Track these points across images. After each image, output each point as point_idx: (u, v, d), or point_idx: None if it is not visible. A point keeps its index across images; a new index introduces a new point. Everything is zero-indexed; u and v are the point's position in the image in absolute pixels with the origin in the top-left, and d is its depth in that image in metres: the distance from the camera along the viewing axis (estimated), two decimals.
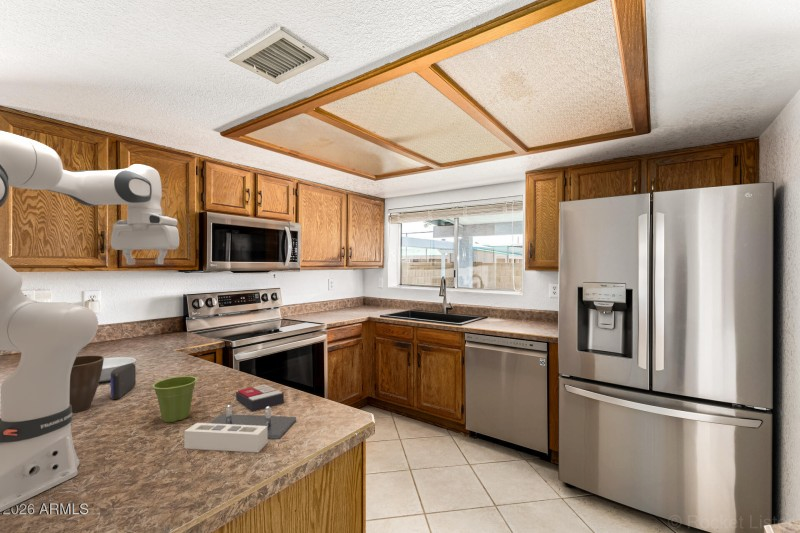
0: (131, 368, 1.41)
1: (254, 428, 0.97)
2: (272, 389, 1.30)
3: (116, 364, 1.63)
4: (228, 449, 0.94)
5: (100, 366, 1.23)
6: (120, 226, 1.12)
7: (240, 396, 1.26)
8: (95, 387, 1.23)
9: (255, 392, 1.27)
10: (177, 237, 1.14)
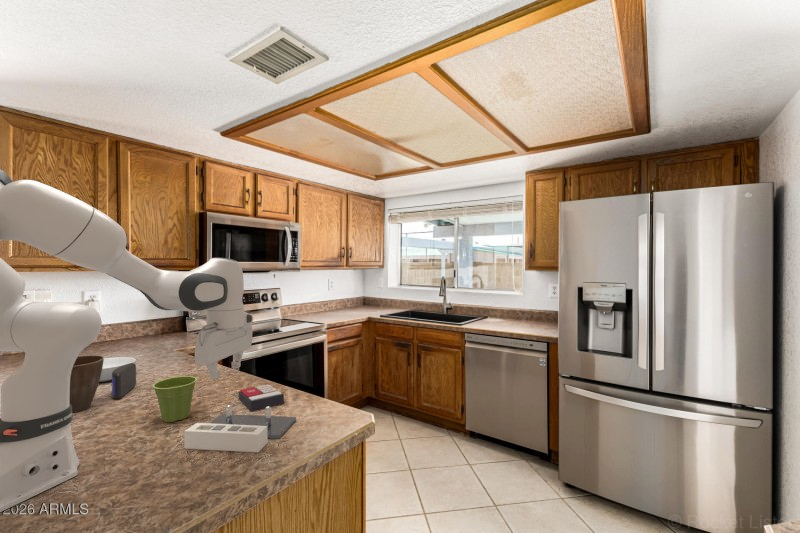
0: (132, 368, 1.41)
1: (254, 428, 0.97)
2: (273, 389, 1.29)
3: (116, 364, 1.63)
4: (228, 449, 0.94)
5: (100, 366, 1.23)
6: (216, 333, 0.89)
7: (241, 396, 1.27)
8: (95, 387, 1.23)
9: (256, 392, 1.27)
10: None
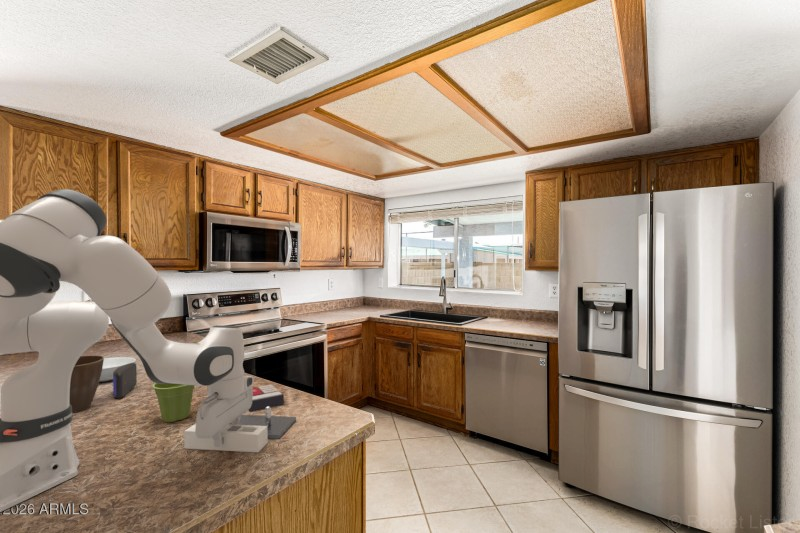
0: (133, 367, 1.41)
1: (254, 428, 0.97)
2: (274, 390, 1.29)
3: (116, 364, 1.63)
4: (228, 449, 0.94)
5: (100, 366, 1.23)
6: (217, 404, 0.90)
7: None
8: (95, 387, 1.23)
9: (257, 392, 1.27)
10: None
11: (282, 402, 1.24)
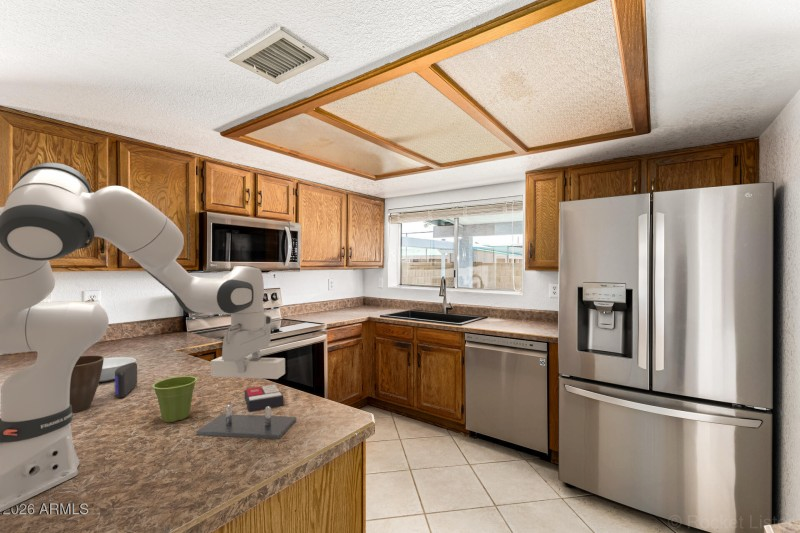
0: (134, 367, 1.42)
1: (273, 359, 1.07)
2: (275, 390, 1.28)
3: (116, 364, 1.63)
4: (250, 376, 1.04)
5: (100, 366, 1.23)
6: (240, 333, 1.00)
7: (245, 395, 1.28)
8: (95, 387, 1.23)
9: (258, 392, 1.27)
10: None
11: (281, 403, 1.23)
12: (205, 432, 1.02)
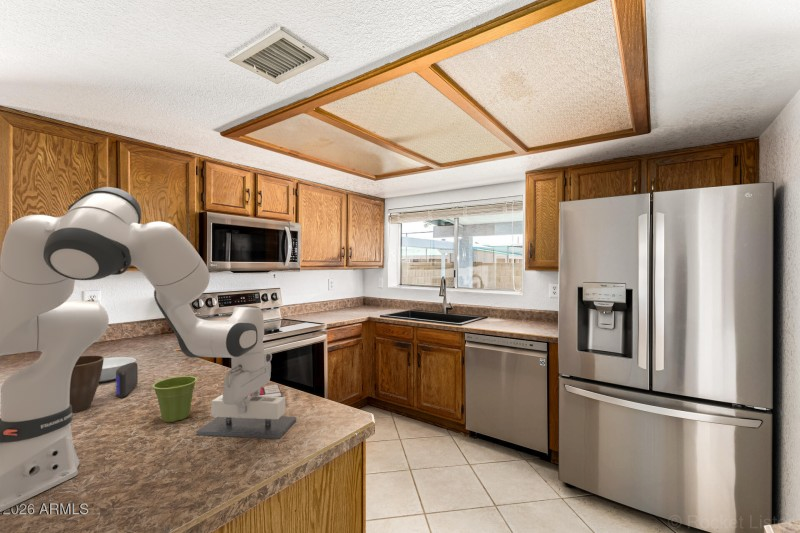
0: (134, 367, 1.42)
1: (273, 399, 1.07)
2: (276, 391, 1.28)
3: (116, 364, 1.63)
4: (251, 417, 1.04)
5: (100, 366, 1.23)
6: (241, 375, 1.00)
7: None
8: (95, 387, 1.23)
9: None
10: None
11: None
12: (205, 432, 1.02)
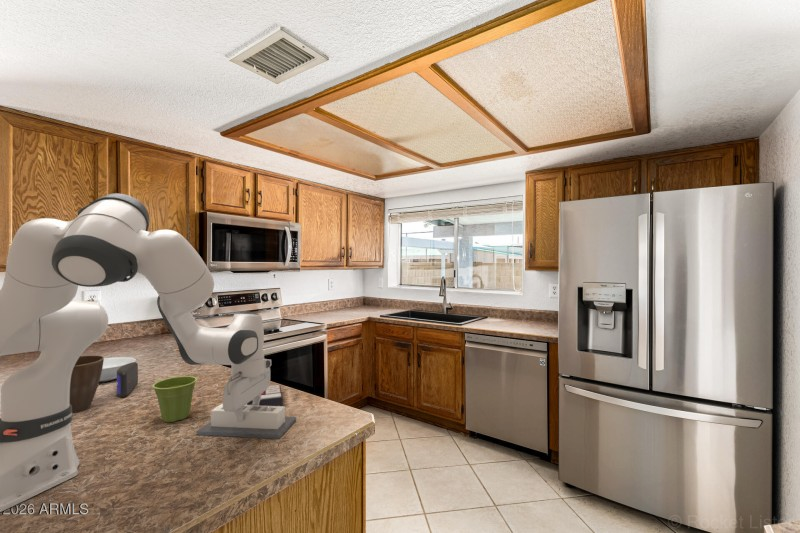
0: (135, 367, 1.43)
1: (273, 408, 1.08)
2: (277, 391, 1.28)
3: (116, 364, 1.63)
4: (251, 427, 1.05)
5: (100, 366, 1.23)
6: (241, 382, 1.01)
7: None
8: (95, 387, 1.23)
9: None
10: None
11: (280, 405, 1.22)
12: (205, 432, 1.02)
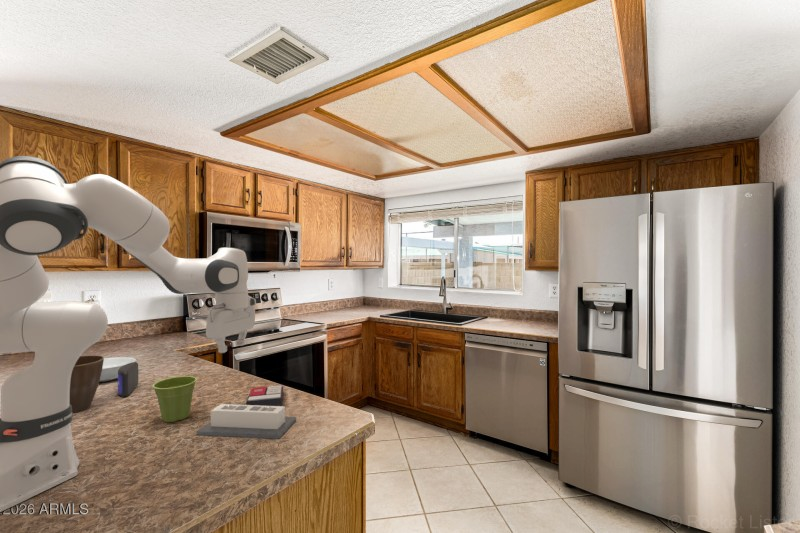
0: (135, 366, 1.43)
1: (273, 408, 1.08)
2: (277, 391, 1.27)
3: (116, 364, 1.63)
4: (251, 427, 1.05)
5: (100, 366, 1.23)
6: (224, 312, 1.03)
7: None
8: (95, 387, 1.23)
9: (260, 392, 1.27)
10: None
11: (280, 405, 1.22)
12: (205, 432, 1.02)
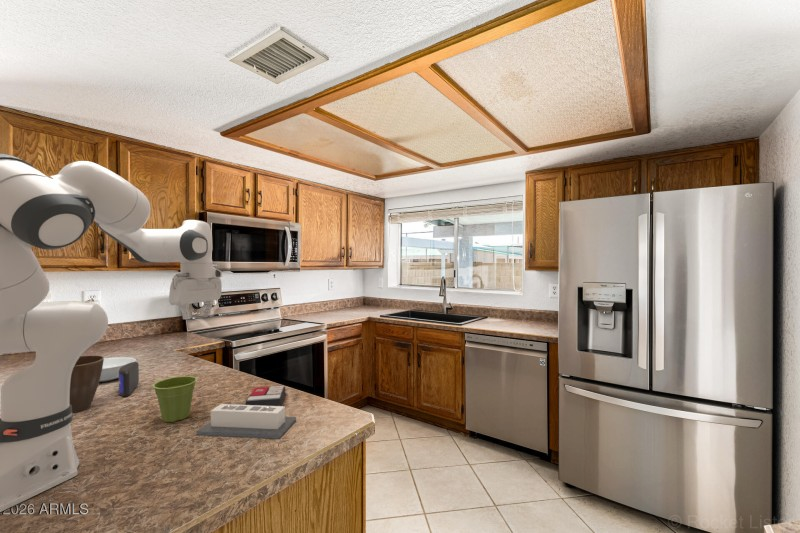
0: (136, 366, 1.43)
1: (273, 408, 1.08)
2: (278, 392, 1.27)
3: (116, 364, 1.63)
4: (251, 427, 1.05)
5: (100, 366, 1.23)
6: (187, 280, 1.09)
7: None
8: (95, 387, 1.23)
9: (261, 392, 1.26)
10: None
11: None
12: (205, 432, 1.02)
